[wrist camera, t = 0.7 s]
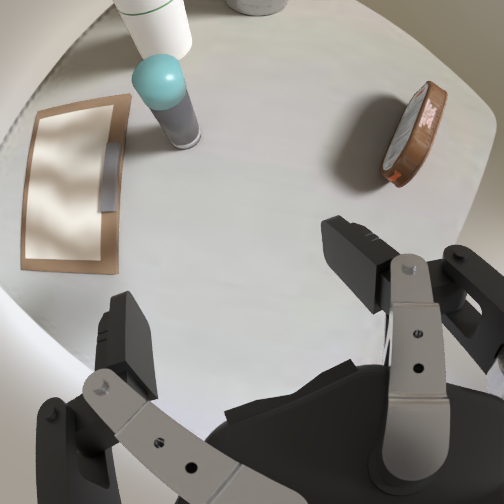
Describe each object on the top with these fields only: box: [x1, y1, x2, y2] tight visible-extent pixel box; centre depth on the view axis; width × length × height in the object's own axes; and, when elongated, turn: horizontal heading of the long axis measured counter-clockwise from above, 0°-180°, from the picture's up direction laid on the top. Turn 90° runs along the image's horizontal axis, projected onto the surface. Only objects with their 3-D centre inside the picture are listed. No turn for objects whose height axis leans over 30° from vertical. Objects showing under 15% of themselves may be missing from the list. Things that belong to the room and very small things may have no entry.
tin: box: [380, 81, 448, 188], centre depth 30 cm, size 15×3×8 cm, turn 150°
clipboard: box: [21, 94, 132, 274], centre depth 32 cm, size 22×15×2 cm
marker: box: [132, 54, 201, 149], centre depth 26 cm, size 4×4×14 cm
